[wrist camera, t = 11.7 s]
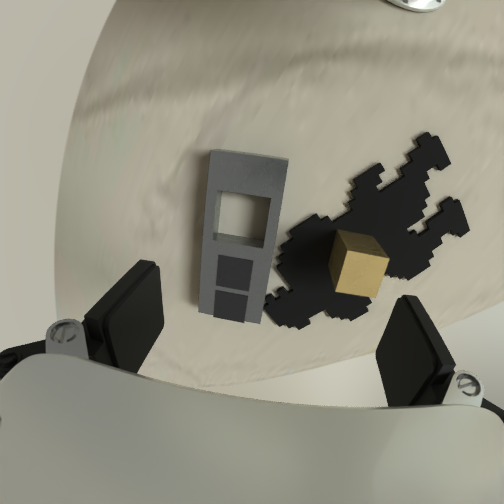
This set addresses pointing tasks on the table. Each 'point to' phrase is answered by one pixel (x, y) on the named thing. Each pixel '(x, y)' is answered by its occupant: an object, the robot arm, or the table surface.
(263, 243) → the rail
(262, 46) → the table surface
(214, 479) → the robot arm
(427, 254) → the black pixelated cutout
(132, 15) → the table surface
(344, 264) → the block
